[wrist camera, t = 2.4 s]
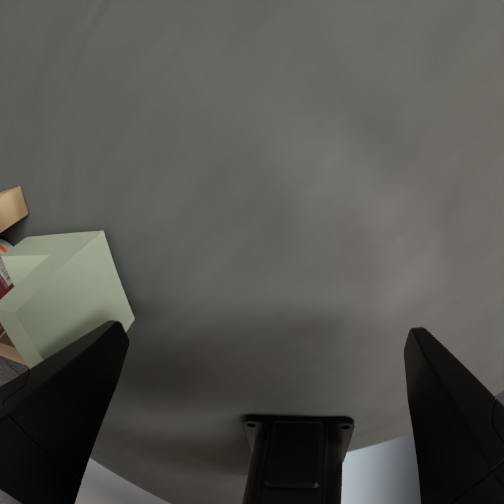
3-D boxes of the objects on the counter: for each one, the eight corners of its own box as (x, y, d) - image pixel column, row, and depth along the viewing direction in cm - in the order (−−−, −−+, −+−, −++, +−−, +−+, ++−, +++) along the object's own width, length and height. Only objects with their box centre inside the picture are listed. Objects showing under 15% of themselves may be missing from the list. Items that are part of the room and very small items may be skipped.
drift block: (134, 319, 14) (78, 408, 9) (57, 310, 15) (2, 377, 10) (103, 230, 12) (15, 312, 7) (26, 237, 13) (-48, 297, 8)
